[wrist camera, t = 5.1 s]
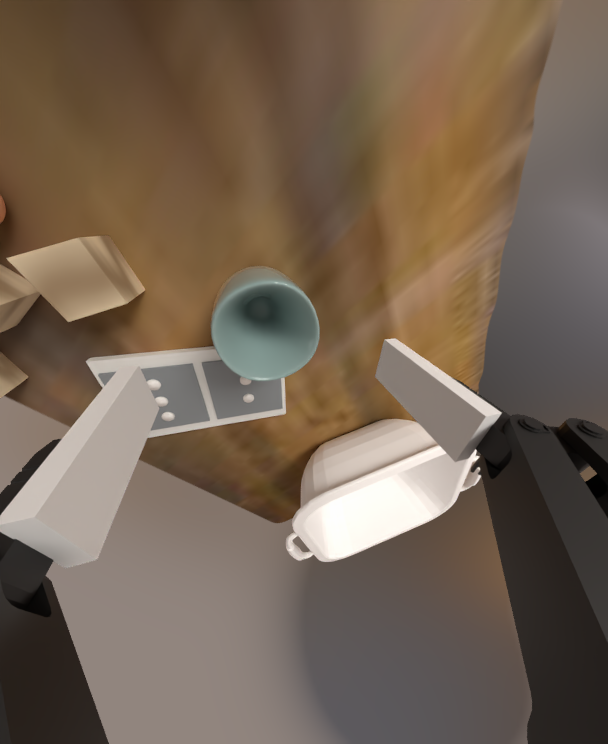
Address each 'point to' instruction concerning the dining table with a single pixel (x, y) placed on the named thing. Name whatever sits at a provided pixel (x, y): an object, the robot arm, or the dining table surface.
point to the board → (196, 389)
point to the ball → (2, 209)
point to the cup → (263, 324)
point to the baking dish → (374, 488)
